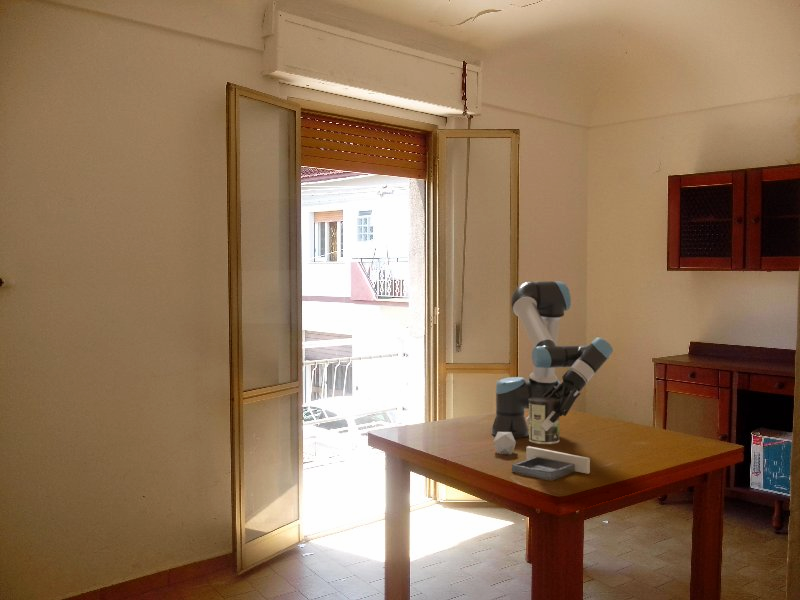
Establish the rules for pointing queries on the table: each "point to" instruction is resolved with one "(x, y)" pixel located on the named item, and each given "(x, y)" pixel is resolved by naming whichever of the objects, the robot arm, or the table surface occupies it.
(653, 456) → the table surface
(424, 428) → the table surface
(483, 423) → the table surface
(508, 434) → the die
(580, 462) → the board
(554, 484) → the table surface
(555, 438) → the coffee can
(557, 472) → the grey square tray
